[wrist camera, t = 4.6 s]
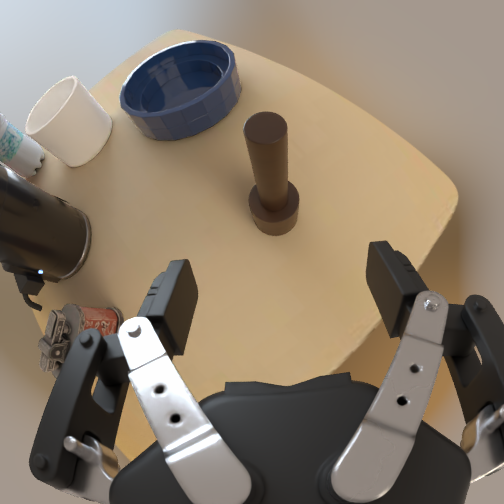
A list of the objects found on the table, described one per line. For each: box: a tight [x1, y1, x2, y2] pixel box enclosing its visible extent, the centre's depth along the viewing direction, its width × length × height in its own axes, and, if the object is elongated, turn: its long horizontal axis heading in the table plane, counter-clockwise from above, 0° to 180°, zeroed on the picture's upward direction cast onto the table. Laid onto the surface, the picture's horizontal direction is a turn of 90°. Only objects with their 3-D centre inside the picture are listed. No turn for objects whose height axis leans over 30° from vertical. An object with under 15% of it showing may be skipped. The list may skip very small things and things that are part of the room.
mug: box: [25, 76, 112, 167], centre depth 29 cm, size 13×10×10 cm
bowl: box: [119, 40, 241, 140], centre depth 30 cm, size 15×15×6 cm
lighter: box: [38, 304, 124, 379], centre depth 21 cm, size 8×3×10 cm, turn 158°
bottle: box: [0, 112, 45, 178], centre depth 25 cm, size 7×7×20 cm
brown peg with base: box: [243, 112, 299, 236], centre depth 20 cm, size 4×4×14 cm
